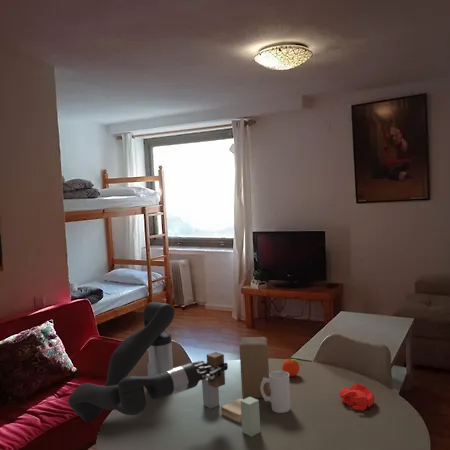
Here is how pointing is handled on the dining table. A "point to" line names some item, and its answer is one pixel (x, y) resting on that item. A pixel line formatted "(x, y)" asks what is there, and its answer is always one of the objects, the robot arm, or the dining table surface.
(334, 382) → the dining table surface
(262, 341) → the wooden block
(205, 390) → the grey post
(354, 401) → the animal figurine
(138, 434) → the dining table surface
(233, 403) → the oak slab
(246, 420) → the sage post
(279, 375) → the mug
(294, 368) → the clementine
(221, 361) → the walnut post
